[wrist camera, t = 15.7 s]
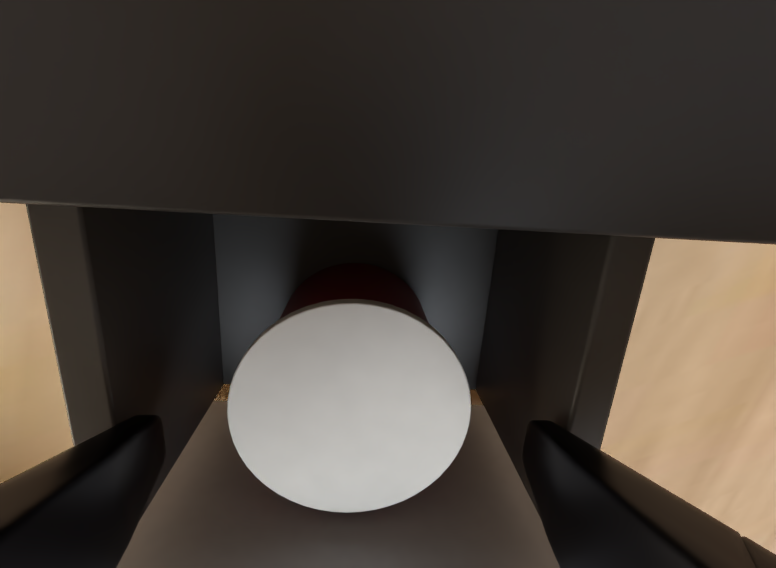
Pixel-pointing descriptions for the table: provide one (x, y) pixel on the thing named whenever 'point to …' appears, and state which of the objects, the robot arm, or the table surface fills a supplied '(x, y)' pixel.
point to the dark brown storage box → (400, 112)
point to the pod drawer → (265, 306)
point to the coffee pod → (349, 395)
